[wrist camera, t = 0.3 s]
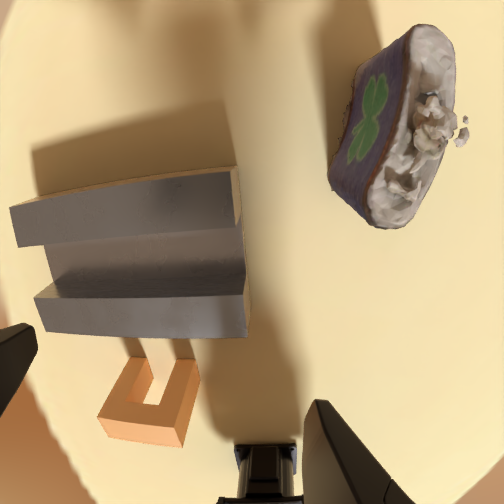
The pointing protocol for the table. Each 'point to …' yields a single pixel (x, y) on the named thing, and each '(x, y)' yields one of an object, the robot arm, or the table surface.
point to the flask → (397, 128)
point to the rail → (143, 256)
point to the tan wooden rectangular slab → (151, 416)
